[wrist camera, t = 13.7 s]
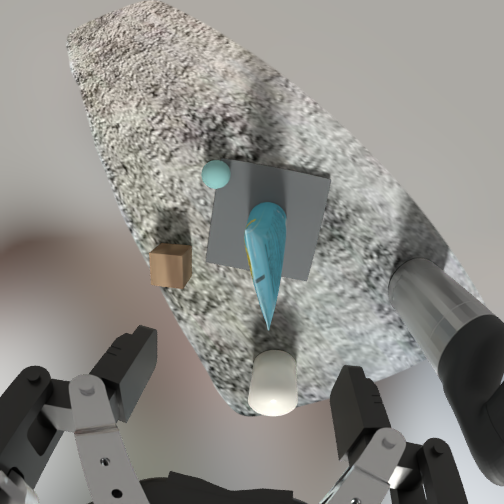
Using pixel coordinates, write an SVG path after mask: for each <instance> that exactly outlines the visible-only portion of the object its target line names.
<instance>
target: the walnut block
mask: <svg viewBox="0 0 504 504" xmlns="http://www.w3.org/2000/svg"><path fill="white" fill-rule="evenodd" d="M149 256H150V274H151V285H156V286H163V287H171V288H179V289H183V288H184V287H185V285H186V284H187V282H188V281H189V279H190V278H191V276H192V246H190V245H179V244H167V243H161V244H160V245H158V246H157V247H156V248H155V249H153V250H152V251H151V252H150V253H149Z"/></svg>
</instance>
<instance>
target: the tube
mask: <svg viewBox="0 0 504 504" xmlns="http://www.w3.org/2000/svg"><path fill="white" fill-rule="evenodd" d="M286 230H287V218H286V214H285V212H284V211H283V209H282V208H281V207H280V206H279V205H277V204H275V203H271V202H264V203H260V204H258V205H257V206H255V207H254V208H253V209H252V211H251V212H250V215H249V218H248V221H247V224H246V228H245V232H244V243H245V249H246V254H247V258H248V263H249V267H250V271H251V275H252V279H253V283H254V286H255V290H256V293H257V297H258V300H259V304H260V307H261V310H262V313H263V316H264V318H265V321H266V324H267V329H268V330H269V328H270V324H271V320H272V317H273V313H274V309H275V305H276V301H277V296H278V291H279V285H280V280H281V273H282V266H283V259H284V251H285V241H286Z"/></svg>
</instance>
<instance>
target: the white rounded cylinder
mask: <svg viewBox="0 0 504 504" xmlns="http://www.w3.org/2000/svg"><path fill="white" fill-rule="evenodd" d="M248 402H249V405H250V407H251V408H252V409H253V410H254V411H256V412H258V413H260V414H263V415H267V416H280V415H284V414H287V413H289V412H291V411H292V410H293V409H294V408H295V407H296V405H297V369H296V361H295V359H294V358H293V357H292V356H291V355H290V354H288V353H287V352H284V351H280V350H269V351H265V352H263V353H261V354H259V355H258V356H257V357H256V359H255V360H254V364H253V371H252V378H251V384H250V391H249V398H248Z"/></svg>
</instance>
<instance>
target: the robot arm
mask: <svg viewBox="0 0 504 504" xmlns="http://www.w3.org/2000/svg"><path fill="white" fill-rule="evenodd" d="M388 296H389V301H390V303H391V305H392V306H393V308H394V309H395V311H396V312H397V314H398V315H399V316H400V318H401V320H402V321H403V323H404V324H405V326H406V327H407V329H408V330H409V332H410V333H411V335H412V336H413V338H414V339H415V341H416V342H417V344H418V345H419V347H420V348H421V350H422V351H423V353H424V355H425V356H426V358H427V359H428V361H429V362H430V364H431V366H432V367H433V369H434V370H435V372H436V374H437V375H438V377H439V379H440V380H441V382H442V384H443V389H444V393H445V395H446V398H447V400H448V401H449V404H450V405H451V407H452V409H453V412H454V414H455V416H456V418H457V421H458V423H459V425H460V428H461V430H462V433H463V435H464V437H465V440H466V443H467V445H468V447H469V449H470V452H471V454H472V456H473V458H474V460H475V462H476V464H477V465H478V467H479V469H480V470H481V472H482V473H483V474H484V475H485V477H486V478H487V479H488V480H490V481H491V482H492V483H494V484H496V485H499V486H504V381H503V383H502V384H501V385H500V383H501V380H502V377H503V374H504V323H503V322H502V321H501V320H500V319H499V318H498V317H496V316H495V315H494V314H493V313H492V312H491V311H490V310H489V309H488V308H487V307H485V306H484V305H483V304H482V303H481V302H480V301H479V300H477V299H476V298H475V297H474V296H473V295H472V294H470V293H469V292H468V291H467V290H466V289H465V288H463V287H462V286H461V285H460V284H459V283H457V282H456V281H455V280H454V279H453V278H451V277H450V276H449V275H448V274H446V273H445V272H444V271H443V270H442V269H440V268H439V267H438V266H437V265H435V264H434V263H433V262H431V261H430V260H428V259H424V258H416V259H412V260H409V261H407V262H406V263H404V264H403V265H401V266H400V267H399V268H398V270H397V271H396V272H395V273H394V275H393V277H392V279H391V281H390V284H389V288H388ZM156 362H157V330H156V329H153V328H149V327H145V326H142V325H139V326H138V327H137V329H136V330H135V331H134V333H133V334H128V333H125V334H123V335H121V336H120V337H118V338H116V340H115V341H114V342H113V343H112V345H111V347H109V349H108V350H107V351H106V353H105V354H104V355H103V356H102V358H101V359H100V360H99V362H98V363H97V364H96V365H95V367H94V368H93V369H92V370H91V372H90V373H89V374H83V375H79V376H77V377H75V378H73V379H72V381H63V380H57V379H51V377H50V374H49V372H48V371H47V370H46V369H45V368H43V367H40V366H30V367H27V368H25V369H24V370H22V371H21V373H20V374H19V375H18V376H17V377H16V379H15V380H14V381H13V382H12V383H11V385H10V386H9V387H8V388H7V389H6V391H5V392H4V393H3V394H2V396H1V397H0V504H39V499H38V496H37V494H36V493H35V491H34V488H35V485H36V484H37V482H38V480H39V478H40V475H41V473H42V471H43V470H44V468H45V466H46V464H47V462H48V460H49V458H50V456H51V454H52V453H53V451H54V449H55V447H56V445H57V443H58V441H59V440H60V438H61V436H62V434H63V432H64V431H68V432H74V434H75V440H76V444H77V448H78V452H79V456H80V460H81V464H82V468H83V471H84V475H85V478H86V481H87V485H88V488H89V491H90V494H91V497H92V500H93V502H91V503H88V504H307V503H305V502H303V501H301V500H298V499H295V498H293V491H289V490H274V489H253V490H239V491H230V490H227V489H224V488H222V487H219V486H217V485H214V484H212V483H210V482H207V481H205V480H203V479H200V478H196V477H192V476H188V475H183V474H180V473H176V472H172V471H170V473H169V476H168V478H166V477H156V478H148V479H144V480H140V481H139V480H138V478H137V476H136V473H135V471H134V469H133V466H132V464H131V461H130V459H129V456H128V454H127V452H126V448H125V446H124V443H123V440H122V438H121V435H120V432H119V429H118V427H117V425H116V423H117V421H118V420H120V421H122V422H125V423H127V421H128V419H129V417H130V415H131V413H132V411H133V409H134V408H135V406H136V404H137V402H138V400H139V398H140V396H141V394H142V392H143V390H144V388H145V386H146V384H147V382H148V380H149V379H150V377H151V375H152V373H153V371H154V369H155V366H156ZM330 406H331V411H332V418H333V424H334V430H335V437H336V443H337V450H338V457H339V461H349V467H348V468H347V469H346V470H345V472H344V473H343V475H342V476H341V477H340V478H339V480H338V481H337V482H336V484H335V485H334V486H333V487H332V489H331V490H330V491H329V492H328V493H327V495H326V496H325V497H324V498H323V499H322V500H321V501H320V502H319V504H381V502H382V500H383V499H384V497H385V495H386V493H387V491H388V489H389V488H390V493H391V500H392V504H468V501H467V498H466V494H465V491H464V488H463V484H462V482H461V478H460V475H459V472H458V469H457V466H456V463H455V461H454V458H453V455H452V452H451V449H450V447H449V445H448V444H447V443H445V441H443V440H441V439H439V438H430V439H428V440H427V441H426V442H425V443H424V444H423V445H419V444H414V443H409V442H406V440H405V438H404V436H403V435H402V434H401V433H400V432H399V431H397V430H395V429H392V428H391V425H390V422H389V419H388V416H387V413H386V410H385V407H384V405H383V404H382V399H381V397H380V393H379V390H378V388H377V386H376V385H375V384H374V382H373V381H372V380H371V379H370V378H366V377H365V374H364V371H363V369H362V367H360V366H350V365H344V366H343V368H342V369H341V372H340V374H339V376H338V378H337V380H336V382H335V384H334V386H333V389H332V391H331V395H330ZM422 484H424V489H425V493H426V498H427V499H426V498H425V494H424V489H423V485H422Z"/></svg>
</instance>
